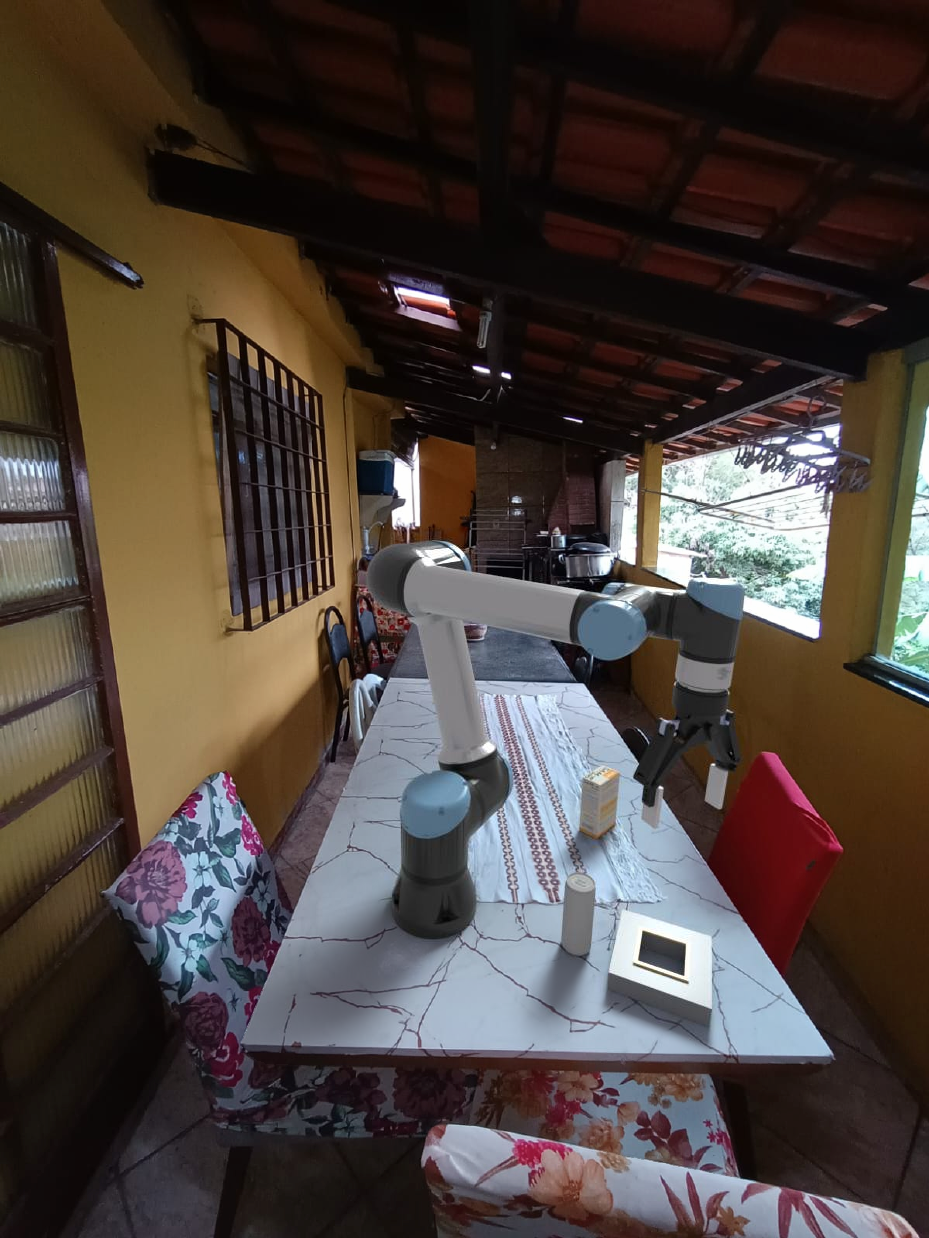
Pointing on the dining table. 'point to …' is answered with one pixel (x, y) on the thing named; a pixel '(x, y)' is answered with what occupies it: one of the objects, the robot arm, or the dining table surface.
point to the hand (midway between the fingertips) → (682, 813)
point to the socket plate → (659, 985)
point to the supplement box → (599, 801)
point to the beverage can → (578, 913)
